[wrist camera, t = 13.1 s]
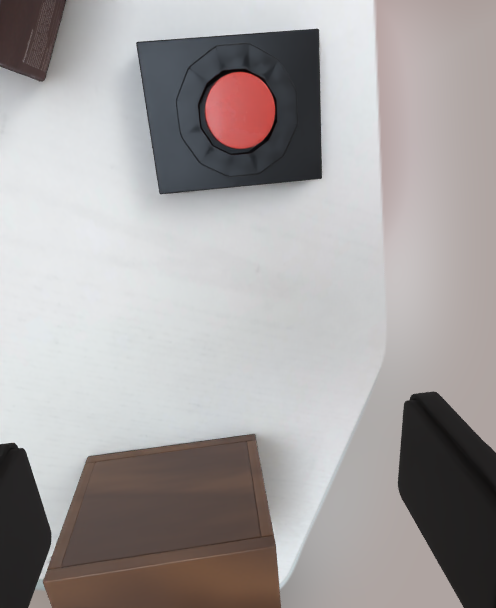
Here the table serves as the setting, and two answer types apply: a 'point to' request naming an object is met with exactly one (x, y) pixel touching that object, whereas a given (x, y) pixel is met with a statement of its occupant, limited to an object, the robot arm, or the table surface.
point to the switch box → (192, 97)
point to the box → (29, 35)
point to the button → (239, 110)
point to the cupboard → (168, 531)
